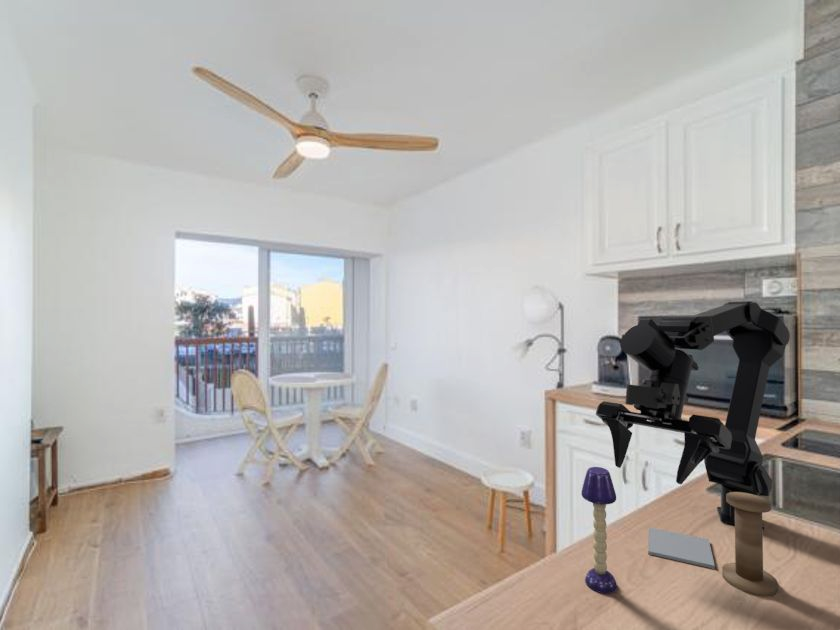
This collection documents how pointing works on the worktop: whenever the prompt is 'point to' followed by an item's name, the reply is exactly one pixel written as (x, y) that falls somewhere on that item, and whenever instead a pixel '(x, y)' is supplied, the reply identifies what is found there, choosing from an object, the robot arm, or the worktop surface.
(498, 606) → the worktop surface
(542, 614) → the worktop surface
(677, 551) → the grey mat
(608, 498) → the toy lamp
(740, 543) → the walnut stool
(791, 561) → the worktop surface
